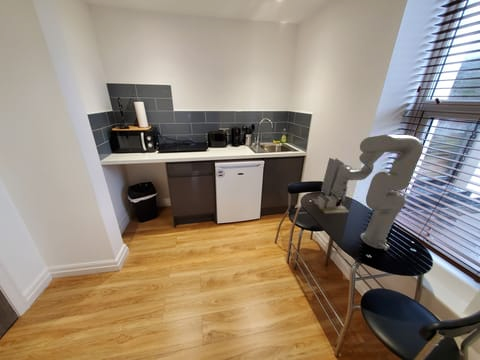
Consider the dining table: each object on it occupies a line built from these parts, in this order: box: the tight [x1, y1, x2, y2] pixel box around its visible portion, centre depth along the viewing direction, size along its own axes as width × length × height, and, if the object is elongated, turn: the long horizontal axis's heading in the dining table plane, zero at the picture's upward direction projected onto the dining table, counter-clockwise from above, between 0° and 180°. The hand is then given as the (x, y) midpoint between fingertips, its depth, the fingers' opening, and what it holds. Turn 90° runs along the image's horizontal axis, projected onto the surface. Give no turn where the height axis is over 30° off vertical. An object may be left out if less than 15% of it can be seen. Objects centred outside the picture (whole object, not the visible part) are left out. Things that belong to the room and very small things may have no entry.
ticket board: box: [311, 198, 350, 215], centre depth 141 cm, size 19×19×1 cm
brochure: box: [321, 157, 345, 196], centre depth 156 cm, size 14×6×30 cm, turn 179°
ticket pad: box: [317, 193, 334, 209], centre depth 139 cm, size 10×9×7 cm
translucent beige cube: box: [329, 195, 342, 207], centre depth 141 cm, size 6×6×6 cm
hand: (335, 203), depth 141 cm, fingers closed on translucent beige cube, 6 cm apart
